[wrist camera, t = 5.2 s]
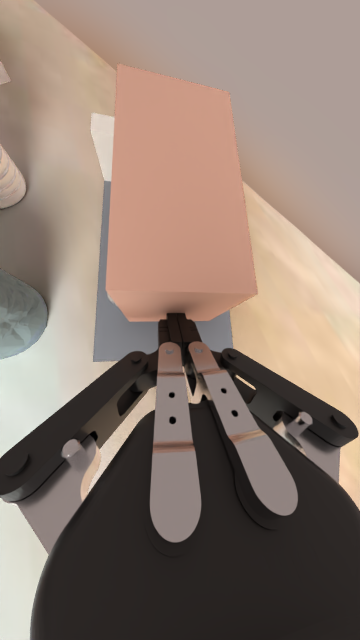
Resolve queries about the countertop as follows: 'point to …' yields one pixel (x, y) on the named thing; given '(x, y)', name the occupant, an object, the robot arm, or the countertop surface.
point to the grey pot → (19, 315)
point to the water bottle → (10, 181)
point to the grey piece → (111, 323)
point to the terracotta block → (176, 201)
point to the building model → (3, 75)
